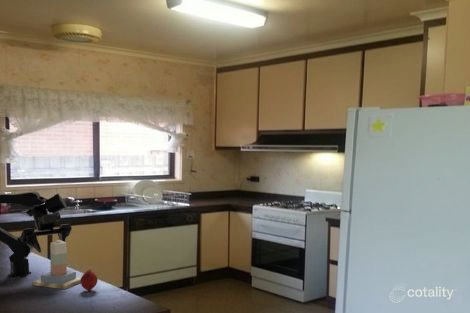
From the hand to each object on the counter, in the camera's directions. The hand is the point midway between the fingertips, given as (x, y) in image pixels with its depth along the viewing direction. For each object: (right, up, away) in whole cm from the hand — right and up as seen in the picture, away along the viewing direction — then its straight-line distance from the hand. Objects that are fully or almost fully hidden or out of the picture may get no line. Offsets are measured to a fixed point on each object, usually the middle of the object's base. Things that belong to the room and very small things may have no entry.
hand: (52, 250), depth 183 cm
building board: (+4, -12, -3) cm, 13 cm away
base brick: (+4, -11, -3) cm, 12 cm away
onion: (+18, -12, -13) cm, 26 cm away
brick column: (+4, -8, -3) cm, 10 cm away
